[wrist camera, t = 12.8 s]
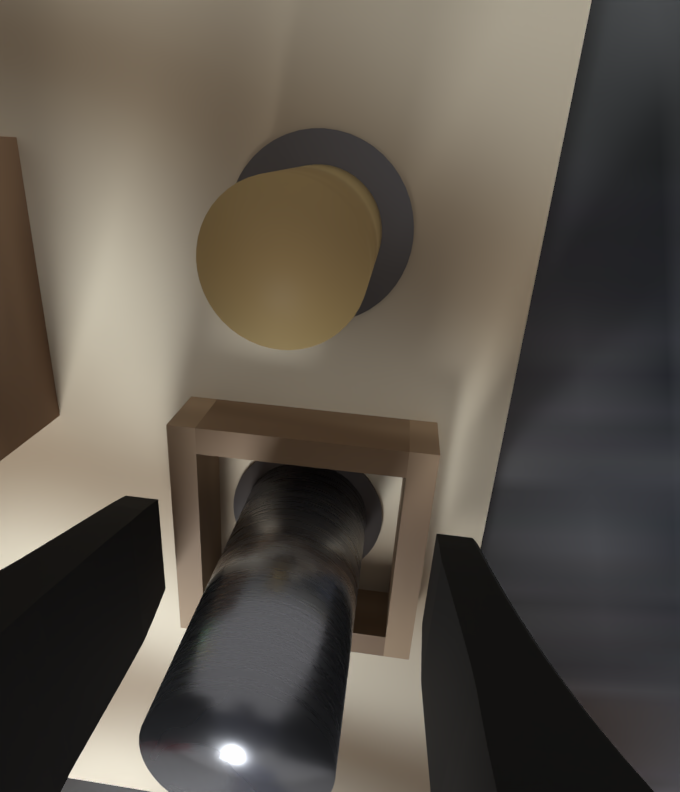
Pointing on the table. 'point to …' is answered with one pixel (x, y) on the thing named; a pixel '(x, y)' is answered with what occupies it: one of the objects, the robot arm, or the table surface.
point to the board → (157, 327)
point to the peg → (266, 646)
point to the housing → (20, 317)
